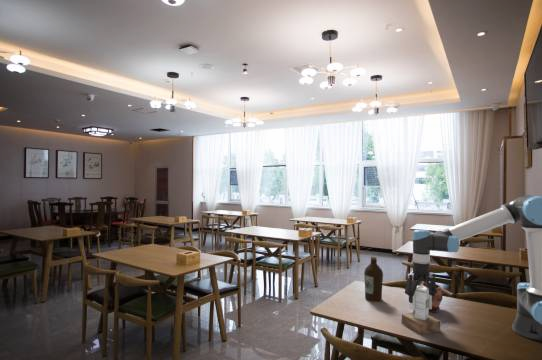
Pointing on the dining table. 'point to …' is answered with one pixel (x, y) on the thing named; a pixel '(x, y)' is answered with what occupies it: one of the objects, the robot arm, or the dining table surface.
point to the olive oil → (373, 281)
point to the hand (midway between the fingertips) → (420, 308)
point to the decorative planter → (435, 298)
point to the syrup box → (421, 303)
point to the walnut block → (421, 323)
